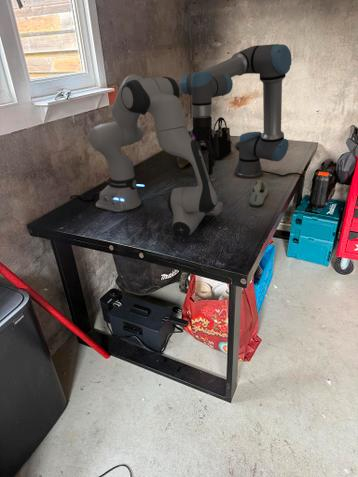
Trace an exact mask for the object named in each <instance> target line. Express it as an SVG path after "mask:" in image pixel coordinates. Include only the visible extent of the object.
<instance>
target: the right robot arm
mask: <svg viewBox="0 0 358 477" xmlns="http://www.w3.org/2000/svg"><path fill="white" fill-rule="evenodd" d="M292 61H293V60H292V53H291V50H290V48H289V47H288V46H287V45H286V44H280V43H272V44H260V45H259V44H258V45H253V46H249V47H247V48H245V49H242V50H240V51H238V52H235V53H233V54H232V55H231V57H230V58H228V59H226V60H224V61H222V62H219V63H217V64H215V65H213V66H211V67H208V68H206V69H204V70H201V71H194V72H192V74H185V75H183V76H182V77H181V78H180V81H179V87H180V88H179V89H180V92H182V93H183V94H184V95H188V96H191V107H192V108H191V115H192V116H193V117H192V130H188V133H189V135H190V136H191V138H192V135H194V136H195V140H194V141H197V142H198V144H199V142H200V141H204V142H205V144H206V146H207V147H206V150H207V154H208V153H209V156H210V158H208V160H207V162H208V163H207V164H208V167H207V168H208V172H209V176H211V175H213V172H214V170H213V169H214V167H215V164H216V162H215V160H216V159H215V158H218V157H219V144H218V137H219V132H217V133H216V132H214V131H213V128H212V126H213V118H212V115H213V110H212V106H213V104H212V101H213V100H212V99H213V98H217V97H224V96H226V95H228V94H230V93H231V92H232V90H233V87H234V86H233V85H234V82H233V79H232V78H233V77H235V76H237V77H238V76H243V75H247V74H251V75H255V74H256V75H259V81H261V83H262V100H263V101H262V102H263V103H262V104H263V106H262V107H263V108H262V111H263V114H262V115H263V116H262V117H263V119H262V120H263V132H261V131H250V132H244V133H242V134H240V136H239V141H238V142H239V150H238V162H237V165H236V167H235V170H234V174H235V176H236V177H239V178H243V179H255V178H259V177H261V176H262V175H263V173H265V174H269V175H275V176H279V177H287V176H289V175H292V176H293V175H298V176H300V177H301V178H305V176H304V174H302V173H300V172H287V173H285V174H280V173H277V172H273V171H267V170H263V169H262V165H261V160H267V161H270V162H280V161H282V160H283V159H284V158H285V156H286V154H287V152H288V150H289V145H290V144H289V141H288V139H287V138H285V133H284V132H283V131H282V110H283V109H282V102H283V80H284V79H285V78H286V75H287V74H288V73H289V71H290V70H291V66H292ZM211 135H212V137H213V145H214V151H213V148H212V145H211V139H210V136H211ZM192 169H193V168H192ZM192 172H193V174H194V175H195V172H194V169H193V170H192Z"/></svg>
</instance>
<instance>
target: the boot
mask: <svg viewBox="0 0 358 477" xmlns="http://www.w3.org/2000/svg"><path fill="white" fill-rule="evenodd" d="M175 159H176V162H177V165H178V168H179V169H183V168H185V167H186V166H187V165H188V164H191V163H190V162H189V161H188V160H186V159H184V158H181V157H178V156H175Z"/></svg>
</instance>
